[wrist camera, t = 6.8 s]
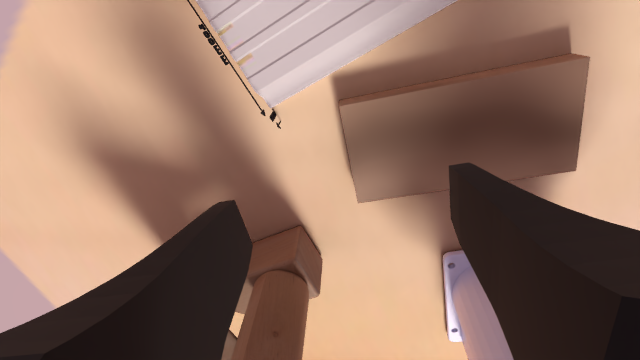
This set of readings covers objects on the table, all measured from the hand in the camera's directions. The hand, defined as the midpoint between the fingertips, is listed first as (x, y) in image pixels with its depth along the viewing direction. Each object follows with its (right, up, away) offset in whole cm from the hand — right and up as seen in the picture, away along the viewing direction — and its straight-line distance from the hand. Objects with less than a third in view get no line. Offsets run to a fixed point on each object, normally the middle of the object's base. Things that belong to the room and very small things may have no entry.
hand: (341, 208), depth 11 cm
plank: (+7, +4, +8) cm, 11 cm away
